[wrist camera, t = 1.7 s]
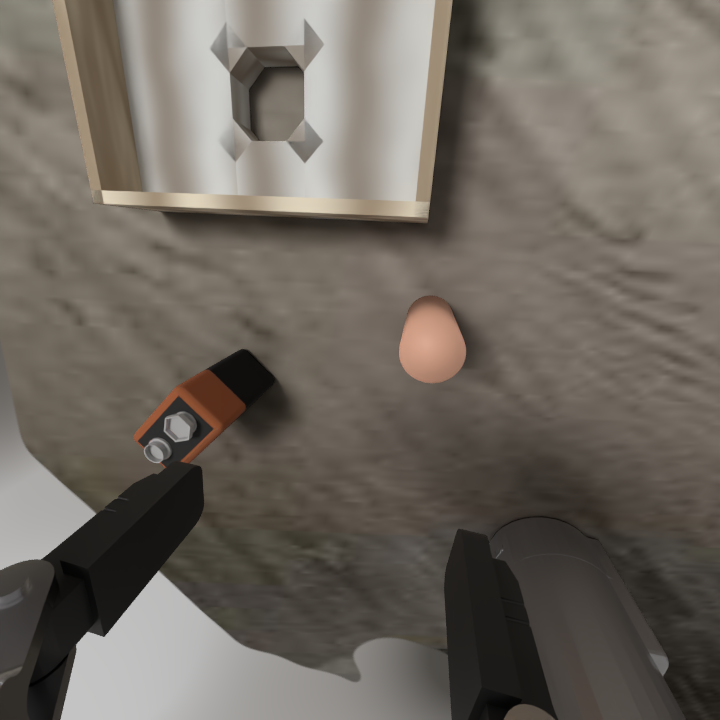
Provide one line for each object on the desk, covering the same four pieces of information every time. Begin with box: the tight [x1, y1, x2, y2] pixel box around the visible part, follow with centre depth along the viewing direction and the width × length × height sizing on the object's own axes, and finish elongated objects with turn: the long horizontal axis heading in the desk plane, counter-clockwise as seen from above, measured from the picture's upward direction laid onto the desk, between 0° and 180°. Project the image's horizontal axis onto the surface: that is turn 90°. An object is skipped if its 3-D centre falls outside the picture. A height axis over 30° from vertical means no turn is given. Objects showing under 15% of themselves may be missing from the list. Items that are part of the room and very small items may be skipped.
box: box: [52, 0, 453, 223], centre depth 21 cm, size 22×14×6 cm, turn 87°
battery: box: [134, 349, 274, 468], centre depth 27 cm, size 4×7×10 cm, turn 134°
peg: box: [399, 296, 466, 383], centre depth 22 cm, size 4×4×9 cm
